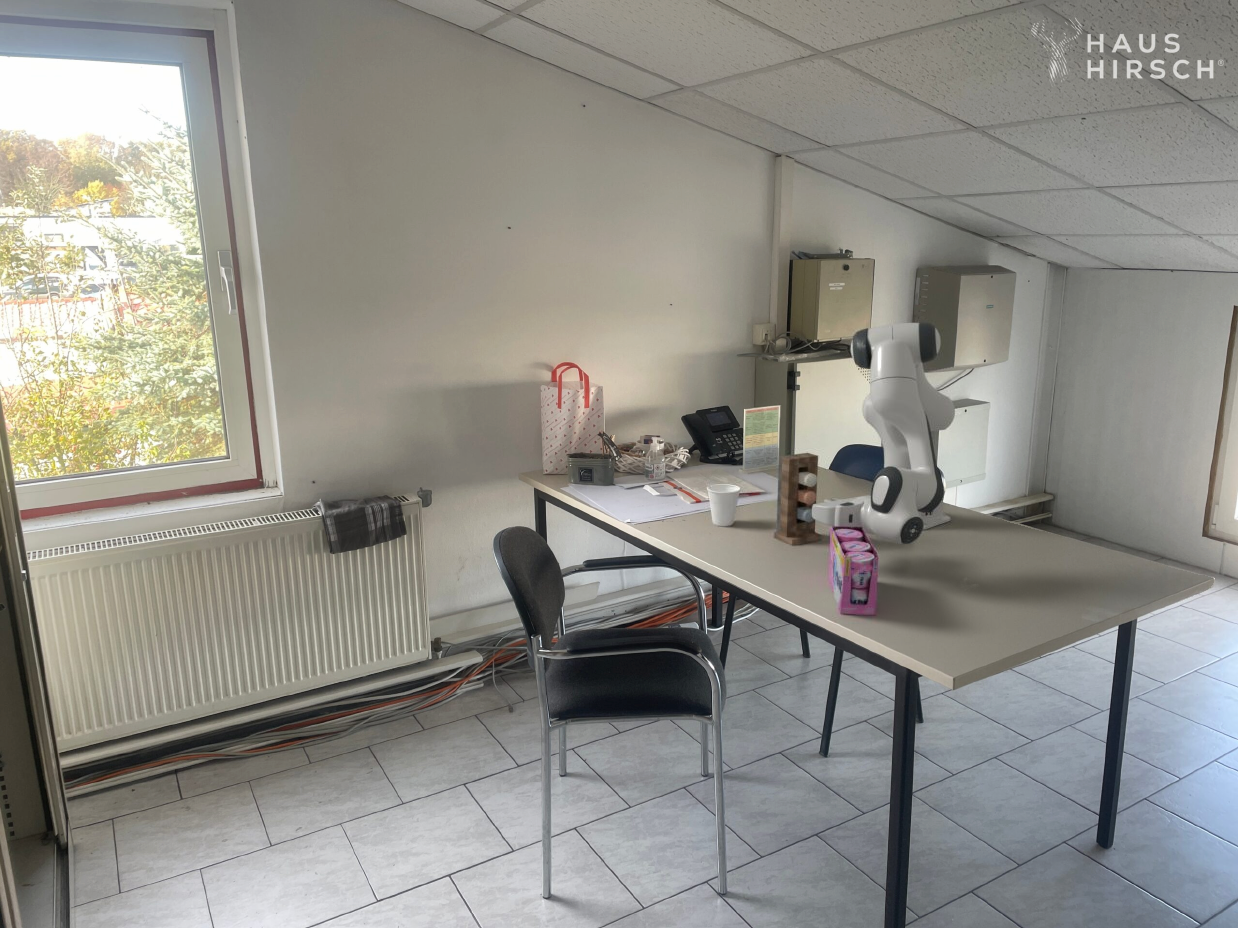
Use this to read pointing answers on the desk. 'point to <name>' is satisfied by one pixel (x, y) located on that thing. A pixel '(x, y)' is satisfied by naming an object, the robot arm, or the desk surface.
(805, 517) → the slate button
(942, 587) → the desk surface
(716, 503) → the cup
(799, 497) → the terracotta button
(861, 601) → the gum box
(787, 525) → the wooden dispenser tower
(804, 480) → the cream button
